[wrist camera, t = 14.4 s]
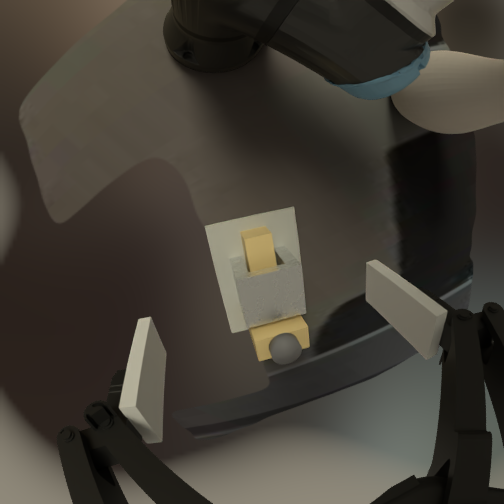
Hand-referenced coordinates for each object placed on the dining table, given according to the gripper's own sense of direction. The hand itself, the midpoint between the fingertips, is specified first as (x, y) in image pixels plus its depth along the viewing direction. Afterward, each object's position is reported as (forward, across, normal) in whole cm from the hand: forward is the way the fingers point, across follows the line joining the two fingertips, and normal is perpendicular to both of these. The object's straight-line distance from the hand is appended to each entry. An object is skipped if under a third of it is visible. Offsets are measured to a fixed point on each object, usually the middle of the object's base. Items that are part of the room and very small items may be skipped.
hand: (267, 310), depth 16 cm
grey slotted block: (+28, +4, -12) cm, 31 cm away
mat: (+29, +4, -12) cm, 31 cm away
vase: (+29, +36, +15) cm, 49 cm away
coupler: (+29, +4, -12) cm, 31 cm away
